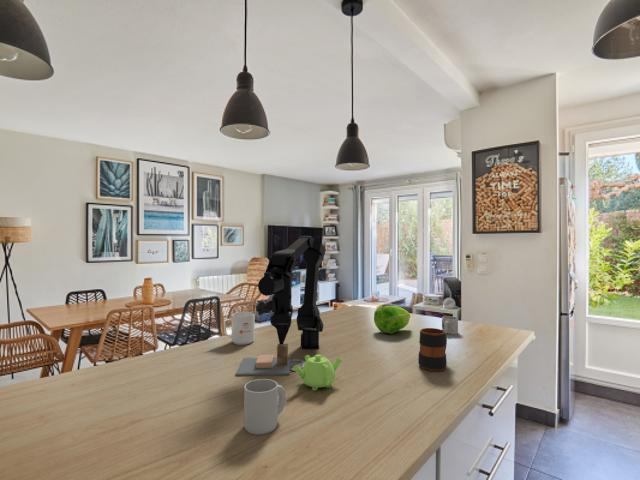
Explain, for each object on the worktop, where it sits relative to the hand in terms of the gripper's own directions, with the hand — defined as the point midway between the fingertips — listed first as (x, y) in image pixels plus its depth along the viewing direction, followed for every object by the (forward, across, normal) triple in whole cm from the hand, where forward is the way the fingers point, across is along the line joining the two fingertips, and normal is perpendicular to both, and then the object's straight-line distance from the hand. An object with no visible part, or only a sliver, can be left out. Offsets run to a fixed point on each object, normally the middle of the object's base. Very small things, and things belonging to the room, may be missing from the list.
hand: (282, 339), depth 113 cm
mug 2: (+9, +2, +50) cm, 50 cm away
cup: (+9, +36, -1) cm, 37 cm away
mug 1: (+9, -26, -18) cm, 33 cm away
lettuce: (+8, -41, +48) cm, 64 cm away
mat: (+8, +1, -5) cm, 10 cm away
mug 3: (+8, -37, +71) cm, 80 cm away
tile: (+7, -3, -5) cm, 9 cm away
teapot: (+9, +15, +11) cm, 20 cm away
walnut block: (+8, 0, 0) cm, 8 cm away
